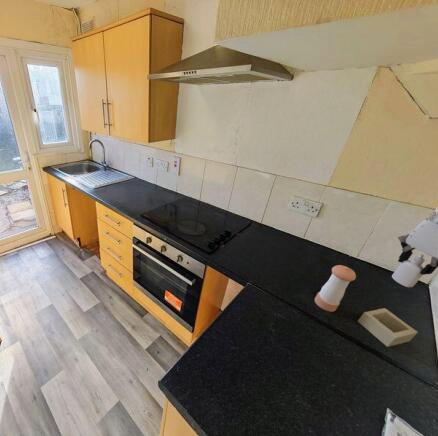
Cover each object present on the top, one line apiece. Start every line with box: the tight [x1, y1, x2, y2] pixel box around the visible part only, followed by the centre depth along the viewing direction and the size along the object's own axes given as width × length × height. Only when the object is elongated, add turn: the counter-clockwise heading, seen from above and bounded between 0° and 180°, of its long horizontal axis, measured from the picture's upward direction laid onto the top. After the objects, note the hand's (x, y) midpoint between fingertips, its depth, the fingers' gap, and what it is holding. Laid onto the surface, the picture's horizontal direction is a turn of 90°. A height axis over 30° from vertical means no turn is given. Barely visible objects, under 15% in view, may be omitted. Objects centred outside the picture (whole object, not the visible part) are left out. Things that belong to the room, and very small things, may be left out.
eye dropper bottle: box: [391, 254, 426, 288], centre depth 77 cm, size 4×6×12 cm
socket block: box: [357, 307, 418, 348], centre depth 80 cm, size 10×10×5 cm
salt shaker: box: [314, 264, 357, 313], centre depth 86 cm, size 7×7×19 cm
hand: (413, 266), depth 76 cm, fingers closed on eye dropper bottle, 5 cm apart
